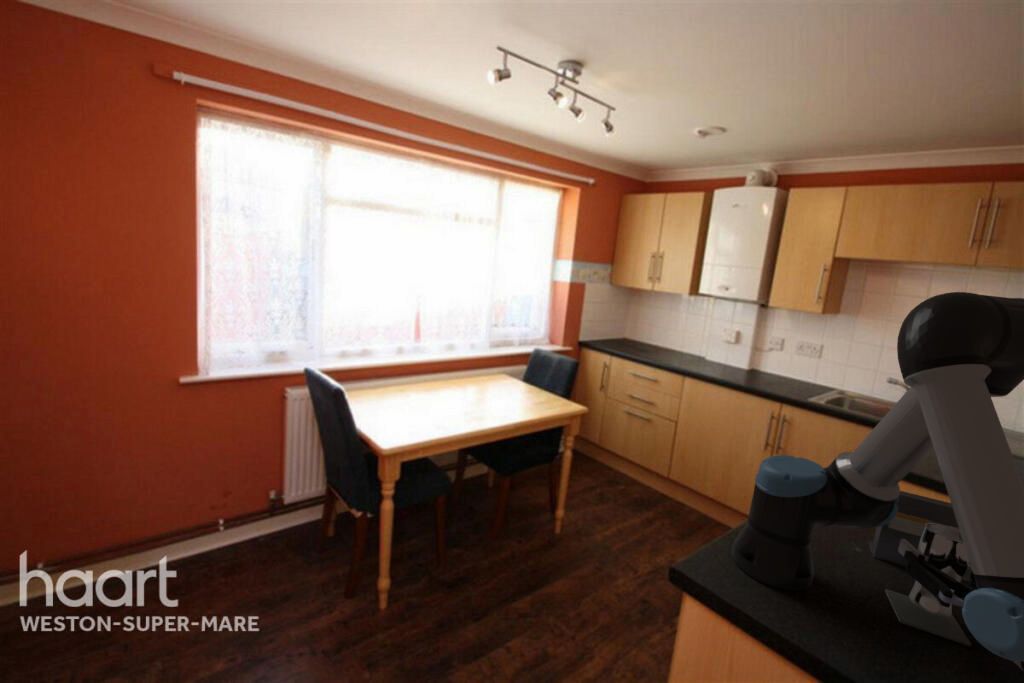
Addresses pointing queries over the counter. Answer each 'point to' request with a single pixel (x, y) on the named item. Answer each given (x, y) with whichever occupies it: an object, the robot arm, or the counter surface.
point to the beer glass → (940, 564)
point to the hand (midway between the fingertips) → (922, 549)
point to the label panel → (910, 526)
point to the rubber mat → (925, 619)
